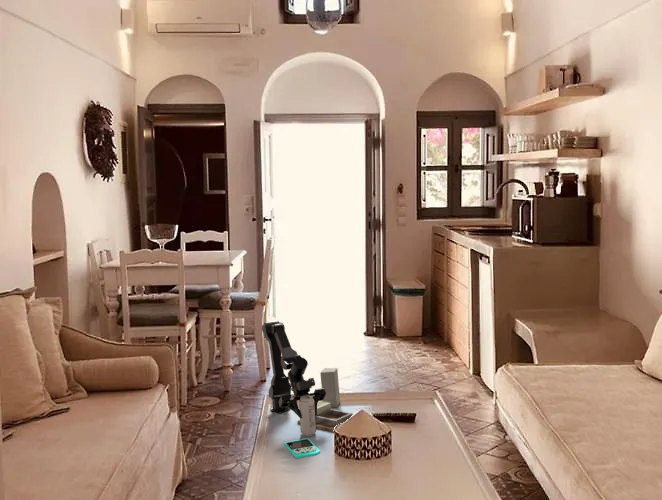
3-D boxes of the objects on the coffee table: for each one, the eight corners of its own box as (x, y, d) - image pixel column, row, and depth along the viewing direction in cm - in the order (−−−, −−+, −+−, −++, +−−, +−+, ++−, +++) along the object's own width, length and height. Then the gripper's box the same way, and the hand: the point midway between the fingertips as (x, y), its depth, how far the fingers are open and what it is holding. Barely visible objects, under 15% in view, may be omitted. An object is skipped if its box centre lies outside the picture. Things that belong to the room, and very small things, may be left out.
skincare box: (337, 407, 322) (335, 372, 320) (321, 407, 323) (319, 372, 322) (340, 401, 330) (339, 367, 328) (325, 401, 332) (323, 367, 330)
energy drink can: (306, 430, 295) (304, 394, 293) (318, 432, 291) (317, 395, 290) (297, 435, 289) (295, 398, 288) (310, 437, 286) (308, 400, 285)
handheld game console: (295, 459, 266) (295, 456, 266) (283, 445, 281) (283, 441, 281) (321, 455, 270) (321, 451, 269) (308, 440, 285) (308, 437, 284)
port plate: (297, 423, 303) (296, 409, 303) (322, 412, 316) (321, 398, 315) (335, 432, 291) (334, 417, 290) (359, 420, 303) (358, 406, 302)
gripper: (279, 375, 288) (290, 410, 279) (323, 368, 295) (335, 402, 286) (274, 389, 296) (284, 424, 287) (317, 382, 303) (328, 416, 294)
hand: (308, 416), depth 288 cm, fingers closed on energy drink can, 6 cm apart
